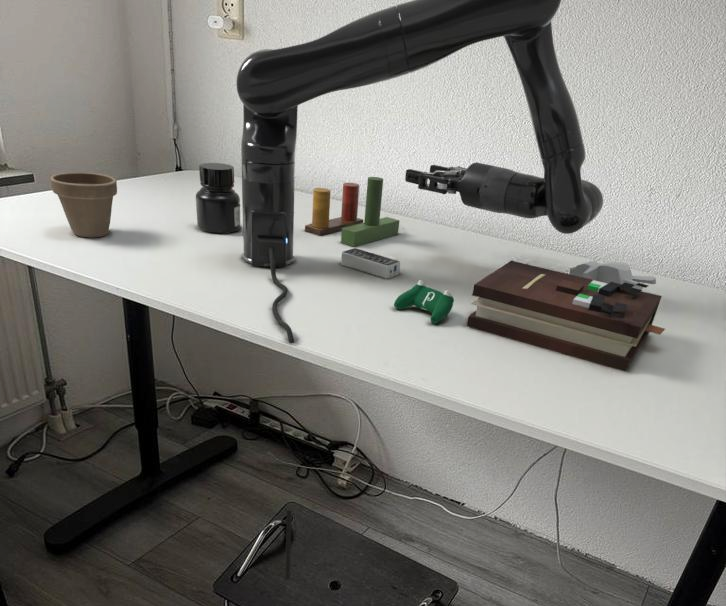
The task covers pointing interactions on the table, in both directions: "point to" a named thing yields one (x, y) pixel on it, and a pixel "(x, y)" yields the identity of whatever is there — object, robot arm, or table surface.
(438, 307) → the gaming controller
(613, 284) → the decorative book
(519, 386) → the table surface
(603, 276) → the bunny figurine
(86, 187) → the flower pot
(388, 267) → the multiport hub
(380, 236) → the green peg on base
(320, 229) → the rod stand
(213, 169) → the ink bottle
